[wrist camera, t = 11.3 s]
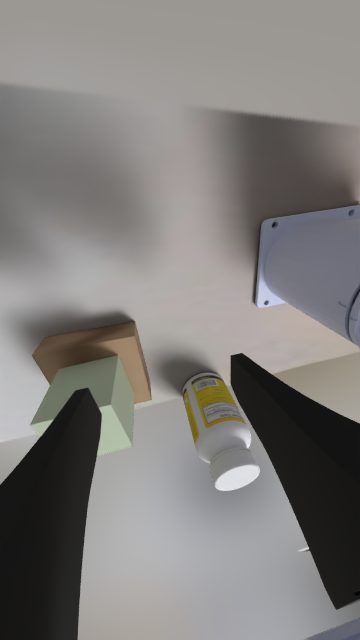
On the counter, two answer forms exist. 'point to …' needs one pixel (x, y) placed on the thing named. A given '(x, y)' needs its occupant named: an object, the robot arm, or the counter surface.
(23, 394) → the counter surface
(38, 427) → the sage cube
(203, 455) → the supplement bottle
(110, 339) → the walnut block
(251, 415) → the robot arm
